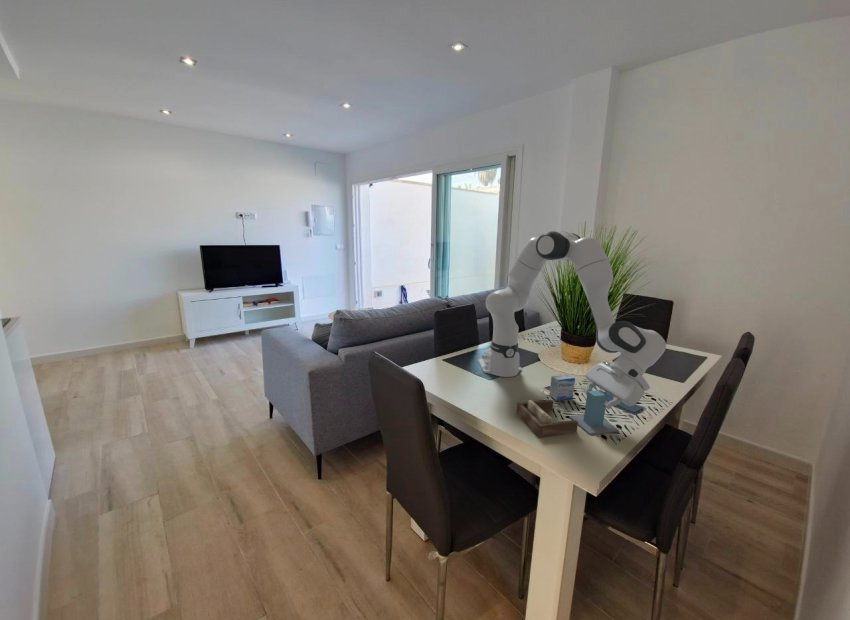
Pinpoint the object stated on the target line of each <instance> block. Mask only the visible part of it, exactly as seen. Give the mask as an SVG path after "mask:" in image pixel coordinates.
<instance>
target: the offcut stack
mask: <svg viewBox="0 0 850 620" xmlns="http://www.w3.org/2000/svg"><path fill="white" fill-rule="evenodd" d="M527 402H528V408H527V410H528V411H529V412H530V413H531V414H532V415H533V416H534V417H535V418H536V419H537V420H538V421H539V422H540V423H541V424H544V423H552V417H551V416H550V415H549V414H548V412H544V411H543V410H542V409H541V408H540V407H539V406H538V405H536V404H535V403H534V402H533V400H531V399H529V400H528V401H527Z"/></svg>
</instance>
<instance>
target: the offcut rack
mask: <svg viewBox="0 0 850 620" xmlns="http://www.w3.org/2000/svg"><path fill="white" fill-rule="evenodd" d="M532 401H533V400H532ZM533 402H534V403H535V404H536V405H538V406H539V407H540V408H541V409H542V410H543V411H544V412H545V413H550V412H553V409H554V408H553V407H554V400H552V399H547V400H545V399H544V400H536V401H533ZM527 408H528V401H525V402H517V403H516V412H515V413H516V415H517V416H518V417H519V418H520V419H521V420H522V421H523V422H524V423H525V424H526V426H527V427H529V429H530V430H531V432H533V434H535V435H536V436H537V438H544V437H554V436H562V435H570V434H578V433H577V432H578V427H579V426H578V421H576V420H571V419H570V420H564V421H563V420H562V421H555V422H554V421H553V422H551V423H544V424H541V423H540V422H539V421H538V420H537V419H536V418H535V417H534V416H533V415H532V414H531V413H530V412H529V411H528V410H527Z"/></svg>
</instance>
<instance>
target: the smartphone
mask: <svg viewBox="0 0 850 620" xmlns="http://www.w3.org/2000/svg"><path fill="white" fill-rule="evenodd" d="M603 392H604V393H606V394H607V395H608V396H607V401H608V402H609V401H611V400H613V398H614V397H613V396H612V395H610V394H609V393H607V392H605V391H603ZM614 407H615V408H618V409H620V410H622V411H623V412H627V413H629V414H631V413H632V415H637V414H639V413H641V412H642V410H643V411H644V407H643V406H641V405H639V404H637V403H636V404H635V405H633V406H628V405H626V404H624V403H623V402H621V403H620V404H618V405H615V406H614ZM640 411H641V412H640ZM638 412H639V413H638ZM636 413H637V414H636Z"/></svg>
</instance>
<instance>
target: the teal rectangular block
mask: <svg viewBox="0 0 850 620" xmlns="http://www.w3.org/2000/svg"><path fill="white" fill-rule="evenodd" d="M604 392H605V391H603V390H602V389H599V390H598V389H597V390H592V391H588V392H587V394H586V398H585V407H584V413H583V414H584V419H583V421H584V422H586V423H587V424H588V425H589V426H596V425H603V421H604V419H605V415H606V409H607V408H606V407H605V406H604V405H603V404H604V403H605V402H606V401H607V396H608V395H607V394H606V393H604Z"/></svg>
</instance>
